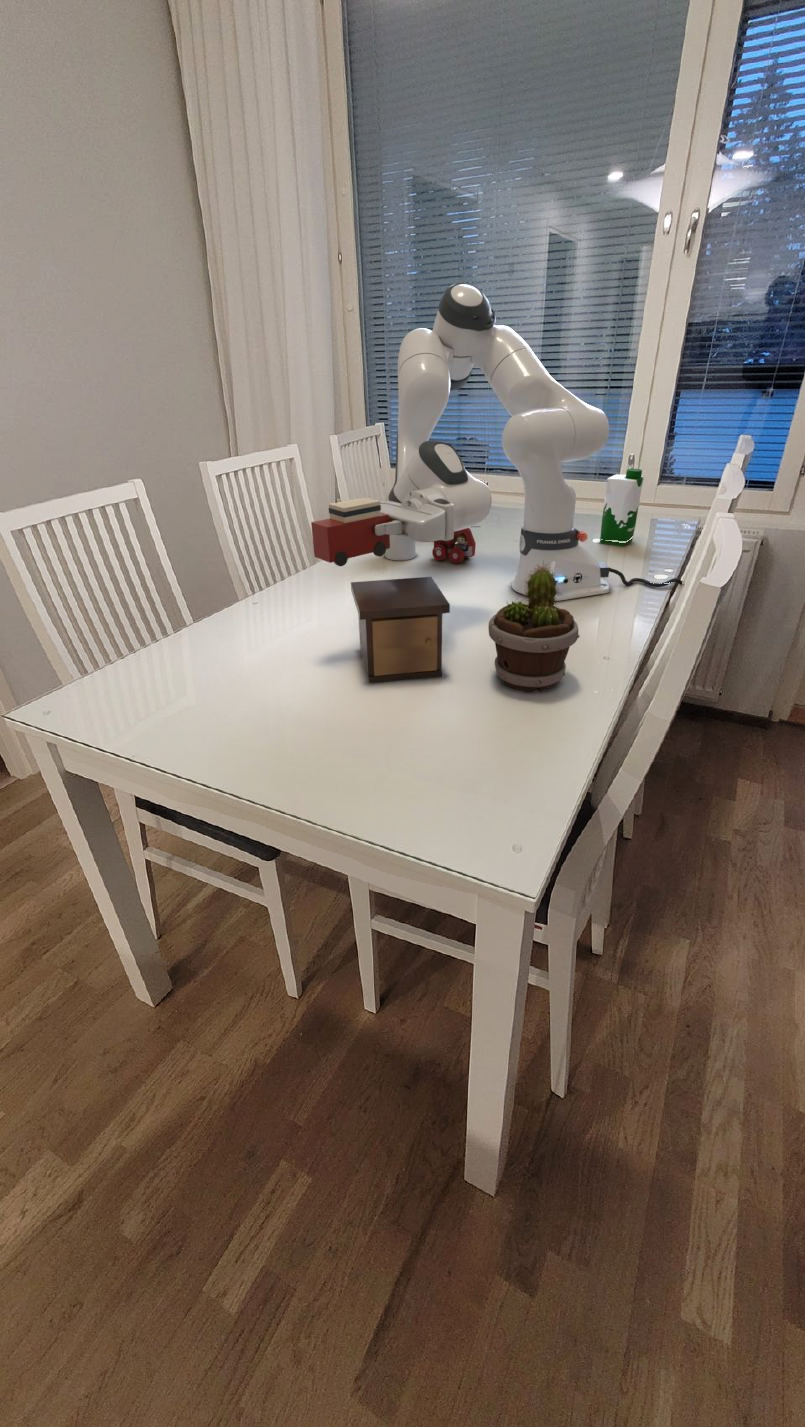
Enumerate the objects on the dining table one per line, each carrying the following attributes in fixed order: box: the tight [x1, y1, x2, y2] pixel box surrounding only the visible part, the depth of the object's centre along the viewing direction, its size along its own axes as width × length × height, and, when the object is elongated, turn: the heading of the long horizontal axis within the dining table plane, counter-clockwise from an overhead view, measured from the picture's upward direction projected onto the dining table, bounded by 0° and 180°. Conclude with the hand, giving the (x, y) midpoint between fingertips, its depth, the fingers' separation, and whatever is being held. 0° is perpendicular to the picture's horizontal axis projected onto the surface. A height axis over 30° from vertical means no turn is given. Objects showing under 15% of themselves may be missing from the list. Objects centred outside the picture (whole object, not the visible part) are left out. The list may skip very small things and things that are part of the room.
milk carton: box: [599, 468, 645, 547], centre depth 181 cm, size 9×9×20 cm
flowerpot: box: [488, 561, 580, 692], centre depth 107 cm, size 14×15×20 cm
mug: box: [384, 535, 417, 561], centre depth 176 cm, size 12×8×11 cm
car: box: [310, 497, 390, 567], centre depth 112 cm, size 13×5×10 cm, turn 129°
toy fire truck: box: [431, 527, 477, 564], centre depth 172 cm, size 7×12×10 cm, turn 58°
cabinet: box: [350, 576, 451, 684], centre depth 114 cm, size 15×16×14 cm
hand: (363, 527), depth 113 cm, fingers closed on car, 5 cm apart
